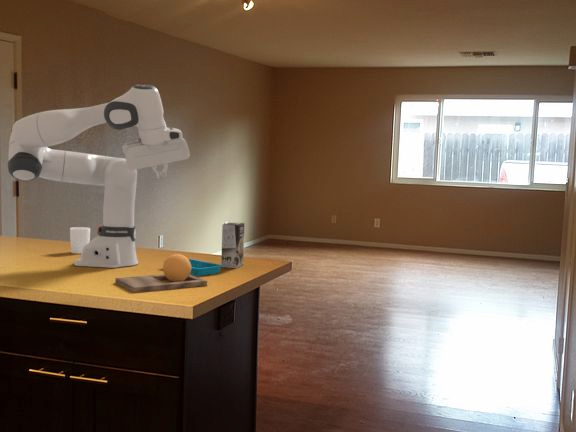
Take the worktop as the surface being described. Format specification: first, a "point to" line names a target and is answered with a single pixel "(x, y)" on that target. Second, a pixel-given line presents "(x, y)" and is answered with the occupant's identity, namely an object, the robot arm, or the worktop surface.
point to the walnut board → (157, 283)
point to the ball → (177, 267)
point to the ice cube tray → (203, 267)
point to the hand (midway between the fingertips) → (162, 177)
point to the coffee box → (232, 245)
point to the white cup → (79, 238)
